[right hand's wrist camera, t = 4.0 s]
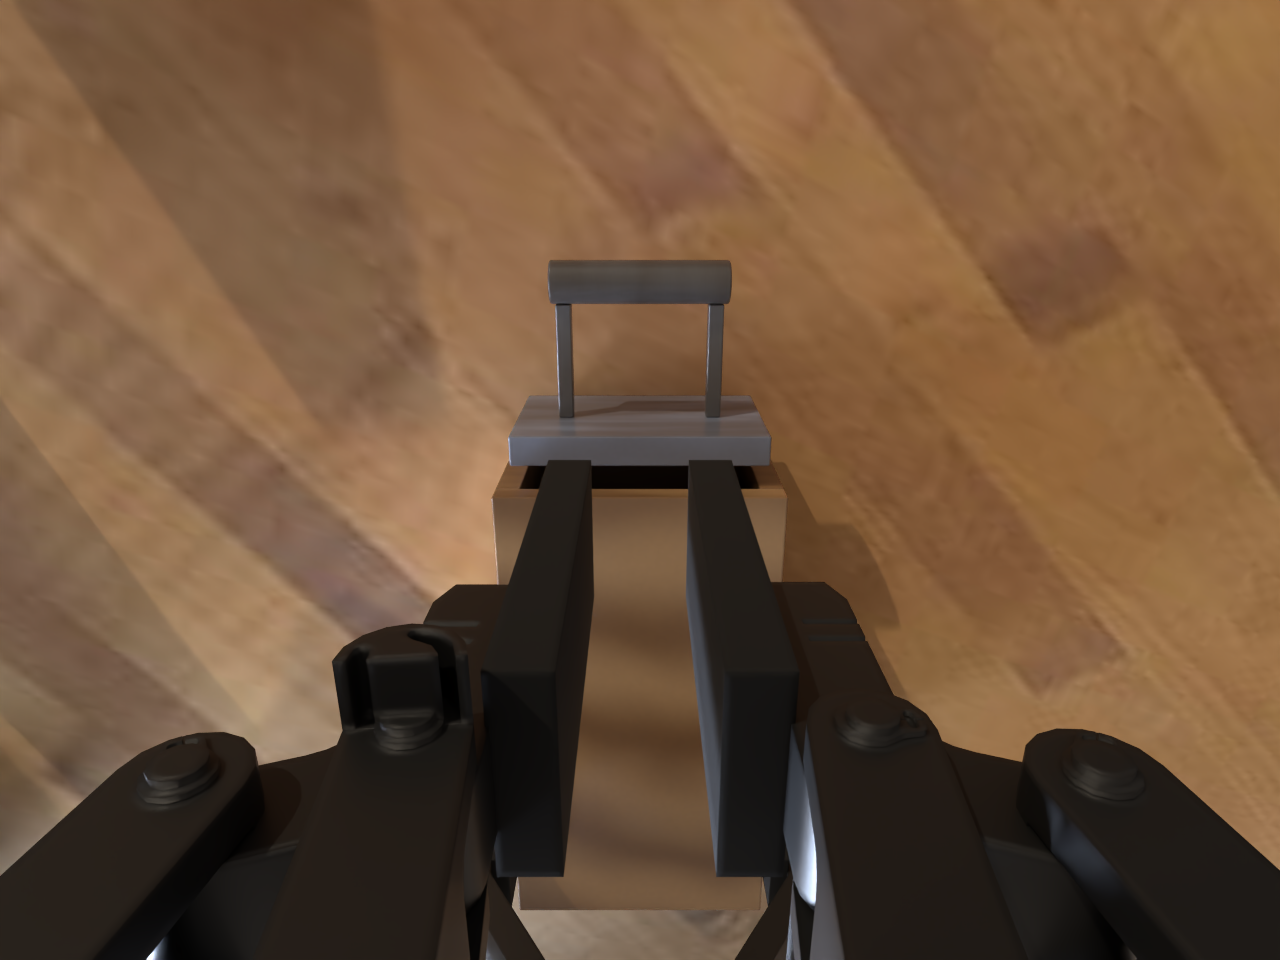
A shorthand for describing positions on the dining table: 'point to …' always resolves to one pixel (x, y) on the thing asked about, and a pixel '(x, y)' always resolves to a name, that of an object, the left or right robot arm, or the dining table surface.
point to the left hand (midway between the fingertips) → (639, 778)
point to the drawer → (639, 425)
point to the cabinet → (639, 703)
